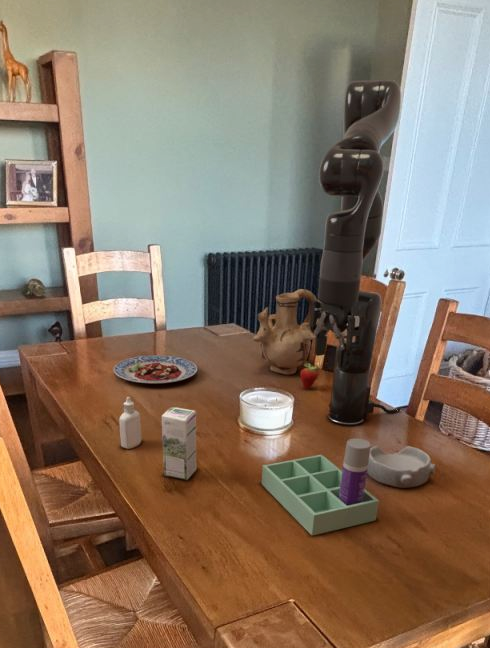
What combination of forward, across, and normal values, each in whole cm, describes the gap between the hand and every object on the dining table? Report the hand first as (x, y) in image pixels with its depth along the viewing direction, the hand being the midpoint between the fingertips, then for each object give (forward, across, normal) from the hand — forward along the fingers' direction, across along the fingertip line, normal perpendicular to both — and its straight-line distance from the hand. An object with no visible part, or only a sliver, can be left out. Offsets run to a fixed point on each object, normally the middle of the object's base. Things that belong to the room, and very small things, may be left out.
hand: (331, 361), depth 121 cm
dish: (+27, -5, -17) cm, 33 cm away
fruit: (+28, +50, -27) cm, 64 cm away
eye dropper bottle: (+27, +32, +33) cm, 54 cm away
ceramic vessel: (+29, +68, -28) cm, 79 cm away
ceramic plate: (+28, +78, +11) cm, 84 cm away
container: (+26, -15, +2) cm, 30 cm away
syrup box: (+27, +14, +27) cm, 41 cm away
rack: (+27, -8, +6) cm, 28 cm away
